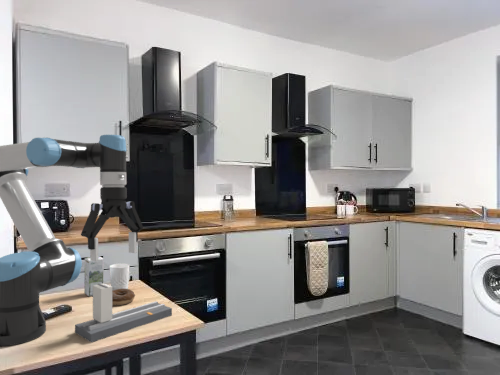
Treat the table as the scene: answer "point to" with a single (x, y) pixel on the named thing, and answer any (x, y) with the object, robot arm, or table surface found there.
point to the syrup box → (93, 274)
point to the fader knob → (102, 303)
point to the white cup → (119, 276)
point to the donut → (122, 296)
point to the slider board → (123, 321)
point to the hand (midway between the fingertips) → (114, 256)
